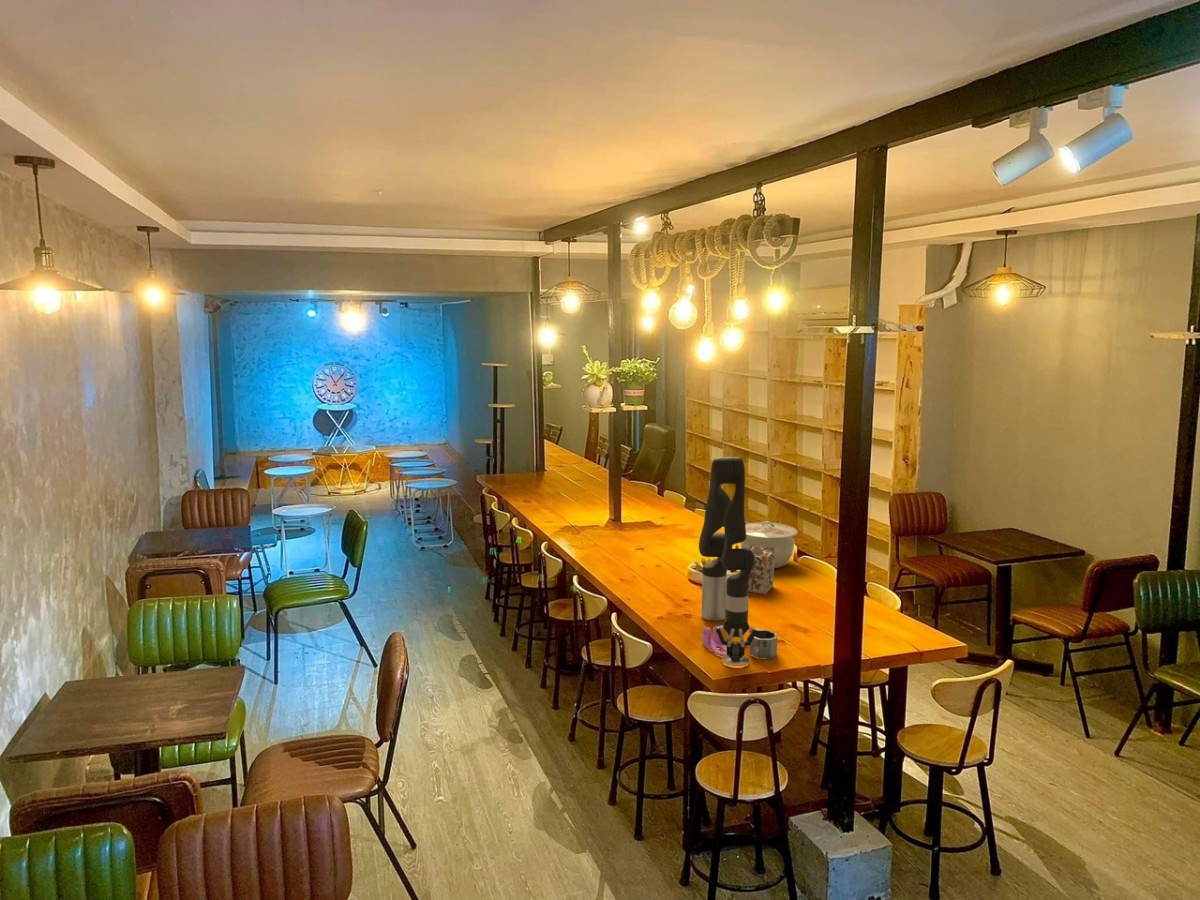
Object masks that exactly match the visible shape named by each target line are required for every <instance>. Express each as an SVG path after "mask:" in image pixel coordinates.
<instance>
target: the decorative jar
mask: <svg viewBox="0 0 1200 900" xmlns="http://www.w3.org/2000/svg"><path fill="white" fill-rule="evenodd" d="M750 550H752V552H753V553H754V557H755V561H754V565H753V568H752V571H751V574H750V578H749V582H748V593H754V594H760V595H766V594H767V593H768V592H769V591H770V590H771V589H772V588H773V587H774V579H775V578H774V577H775V576H774V575H775V568H774V556H773V554H772V553H770V552H769V551H767V550H763V548H762V547H752V549H750ZM740 572H741V570H739V573H740Z"/></svg>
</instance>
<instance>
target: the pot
mask: <svg viewBox="0 0 1200 900" xmlns="http://www.w3.org/2000/svg"><path fill="white" fill-rule="evenodd" d="M756 631H757V632H756V634H755V636H754V638H753V640H752V642H751V644H750V646H748V652H750V653H749V655H750V654H751V655H753V656H755V657H758V658H766V659H765V660H768V659H769V660H772V659H775V658H777V657H776V656H778V655H777V654H778V634H777V632H775V631H772V630H769V629H756ZM774 657H775V658H774ZM771 658H772V659H771Z"/></svg>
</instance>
